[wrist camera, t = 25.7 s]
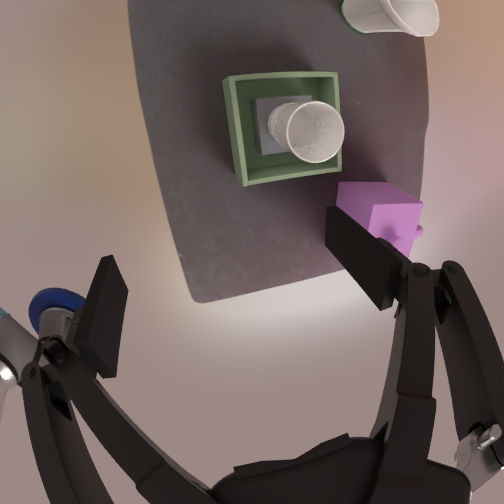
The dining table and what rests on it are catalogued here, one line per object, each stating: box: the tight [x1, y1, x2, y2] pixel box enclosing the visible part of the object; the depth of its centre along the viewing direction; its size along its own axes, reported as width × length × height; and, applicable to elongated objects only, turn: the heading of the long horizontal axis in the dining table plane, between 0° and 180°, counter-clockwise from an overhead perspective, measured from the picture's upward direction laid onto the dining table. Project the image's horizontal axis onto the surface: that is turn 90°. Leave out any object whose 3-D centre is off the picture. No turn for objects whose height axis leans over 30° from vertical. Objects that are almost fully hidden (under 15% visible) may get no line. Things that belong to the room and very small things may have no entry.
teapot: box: [336, 182, 423, 258], centre depth 50 cm, size 15×25×14 cm, turn 89°
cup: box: [341, 0, 440, 36], centre depth 27 cm, size 12×12×15 cm
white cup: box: [267, 101, 344, 163], centre depth 34 cm, size 8×8×10 cm
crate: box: [222, 71, 342, 186], centre depth 40 cm, size 17×17×7 cm
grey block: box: [250, 95, 312, 155], centre depth 40 cm, size 9×9×4 cm
